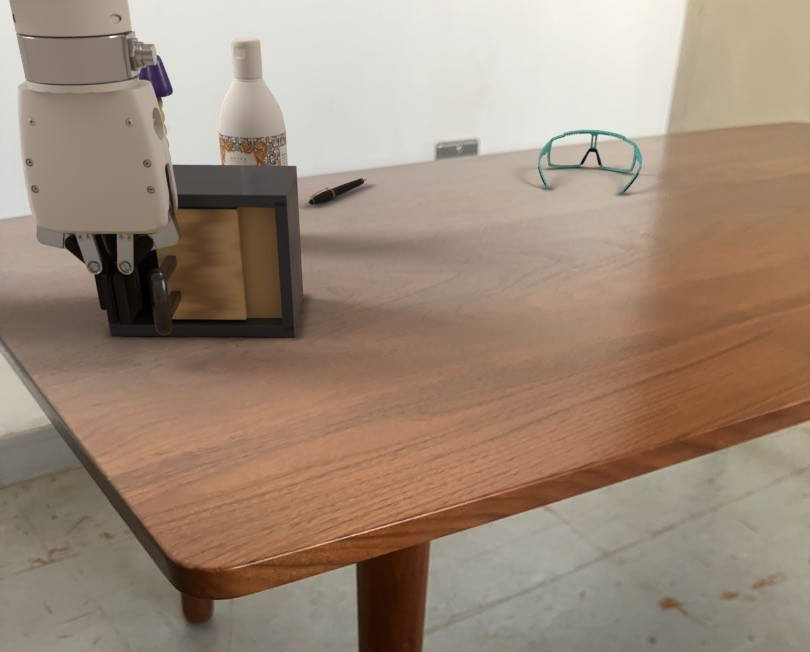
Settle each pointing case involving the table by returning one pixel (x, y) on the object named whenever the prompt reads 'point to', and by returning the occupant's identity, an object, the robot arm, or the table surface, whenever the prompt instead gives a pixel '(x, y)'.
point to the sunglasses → (592, 149)
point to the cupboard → (261, 250)
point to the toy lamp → (158, 83)
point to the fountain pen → (334, 191)
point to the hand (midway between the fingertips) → (123, 317)
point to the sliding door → (200, 270)
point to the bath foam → (250, 113)
